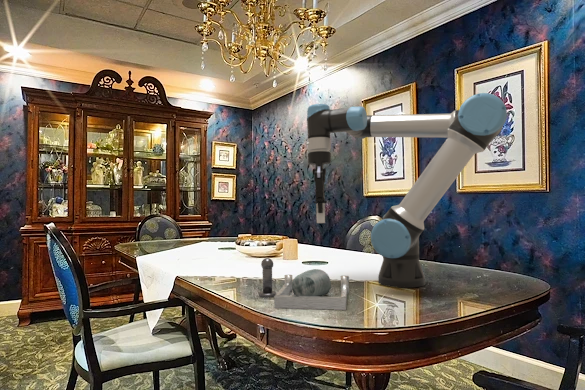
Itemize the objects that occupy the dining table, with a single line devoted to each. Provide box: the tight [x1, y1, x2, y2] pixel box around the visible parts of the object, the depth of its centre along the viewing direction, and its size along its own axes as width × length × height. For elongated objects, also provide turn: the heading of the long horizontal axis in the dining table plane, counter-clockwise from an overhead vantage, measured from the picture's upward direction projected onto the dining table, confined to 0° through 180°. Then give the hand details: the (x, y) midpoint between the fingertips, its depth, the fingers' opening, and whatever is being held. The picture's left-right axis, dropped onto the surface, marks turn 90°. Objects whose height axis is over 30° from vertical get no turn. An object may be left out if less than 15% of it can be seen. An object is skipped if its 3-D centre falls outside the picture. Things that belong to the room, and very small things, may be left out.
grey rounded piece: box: [292, 268, 332, 296], centre depth 112 cm, size 14×10×10 cm
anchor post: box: [258, 257, 277, 298], centre depth 117 cm, size 5×5×11 cm
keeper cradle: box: [273, 274, 350, 311], centre depth 112 cm, size 20×20×5 cm
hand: (320, 222), depth 131 cm, fingers closed
